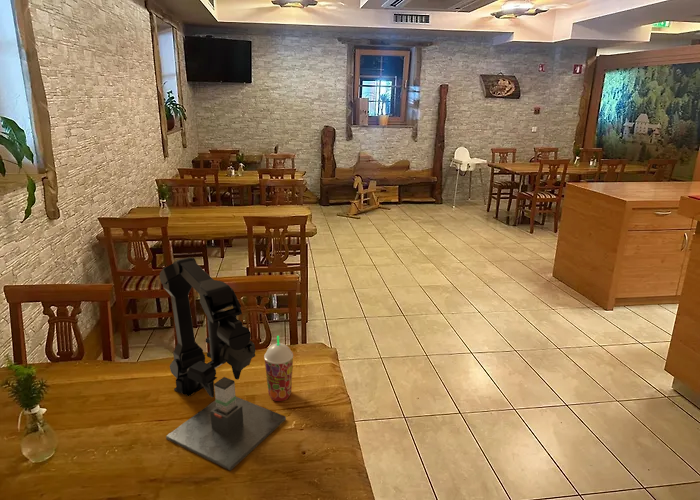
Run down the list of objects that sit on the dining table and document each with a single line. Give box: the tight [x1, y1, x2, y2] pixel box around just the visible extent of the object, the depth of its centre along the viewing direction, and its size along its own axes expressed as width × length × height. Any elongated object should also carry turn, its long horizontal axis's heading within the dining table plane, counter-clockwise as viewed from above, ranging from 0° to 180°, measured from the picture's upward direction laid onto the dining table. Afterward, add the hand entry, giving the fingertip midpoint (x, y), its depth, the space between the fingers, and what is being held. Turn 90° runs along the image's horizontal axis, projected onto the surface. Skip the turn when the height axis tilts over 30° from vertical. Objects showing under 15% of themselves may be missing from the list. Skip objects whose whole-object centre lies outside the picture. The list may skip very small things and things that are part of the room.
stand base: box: [165, 396, 287, 472], centre depth 128 cm, size 22×22×6 cm
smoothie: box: [263, 335, 294, 402], centre depth 140 cm, size 8×8×20 cm
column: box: [214, 376, 237, 416], centre depth 126 cm, size 4×4×9 cm
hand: (224, 387), depth 125 cm, fingers open, 9 cm apart
